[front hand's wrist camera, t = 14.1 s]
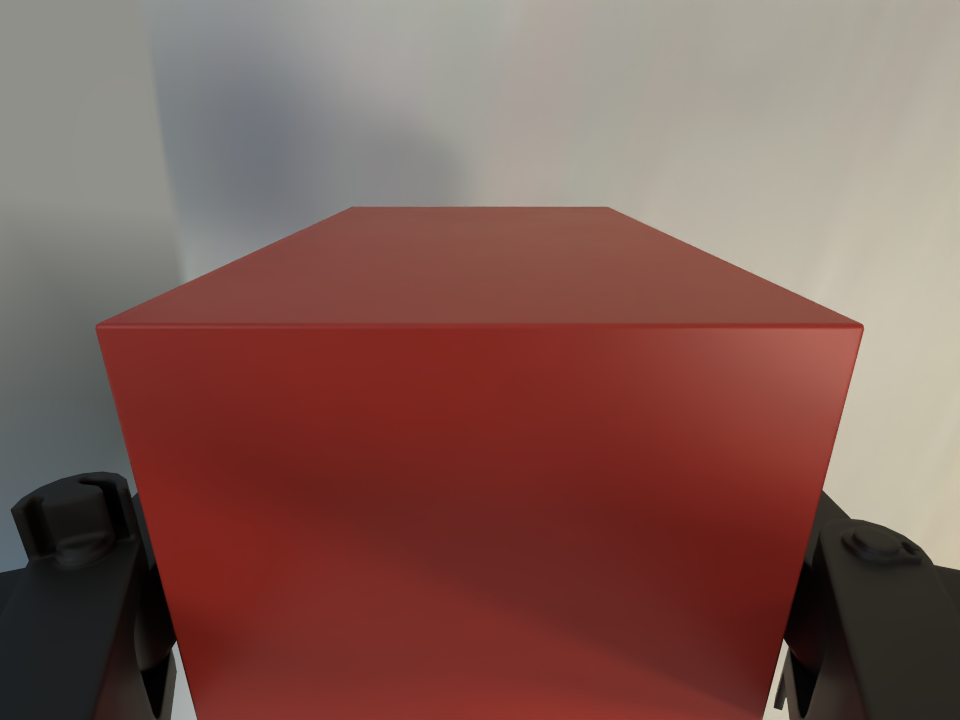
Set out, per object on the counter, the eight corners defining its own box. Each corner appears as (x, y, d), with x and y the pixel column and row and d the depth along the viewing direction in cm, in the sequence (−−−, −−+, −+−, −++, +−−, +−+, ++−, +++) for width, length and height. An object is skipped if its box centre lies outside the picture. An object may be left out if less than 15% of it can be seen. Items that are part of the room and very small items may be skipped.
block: (609, 206, 16) (868, 325, 5) (587, 468, 19) (724, 872, 8) (350, 206, 16) (91, 324, 5) (371, 468, 19) (234, 873, 8)
